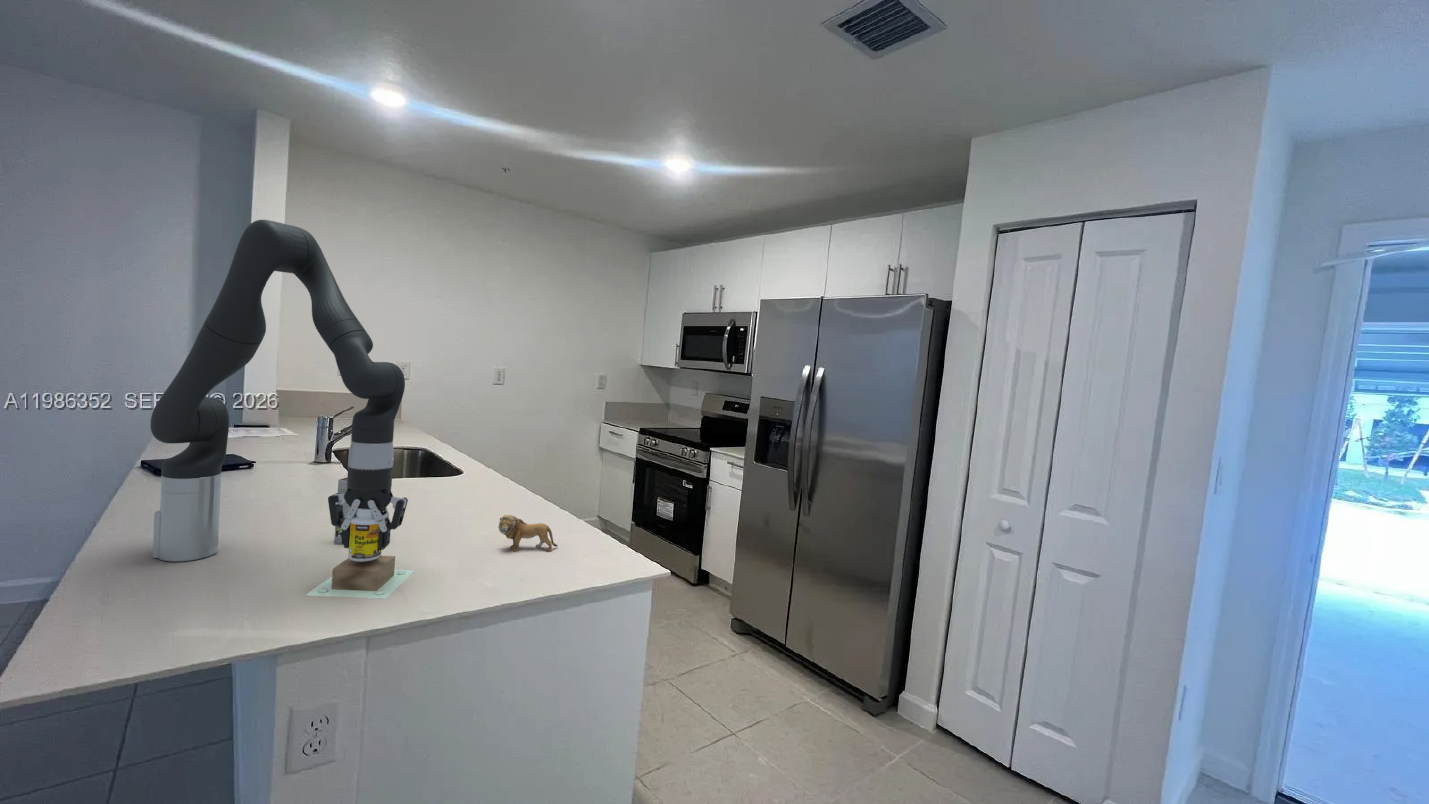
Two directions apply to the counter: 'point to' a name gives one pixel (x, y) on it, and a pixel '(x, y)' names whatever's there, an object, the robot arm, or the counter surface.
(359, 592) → the plate
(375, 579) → the walnut block
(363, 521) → the supplement bottle
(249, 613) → the counter surface
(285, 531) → the counter surface
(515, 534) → the lion figurine
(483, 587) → the counter surface
